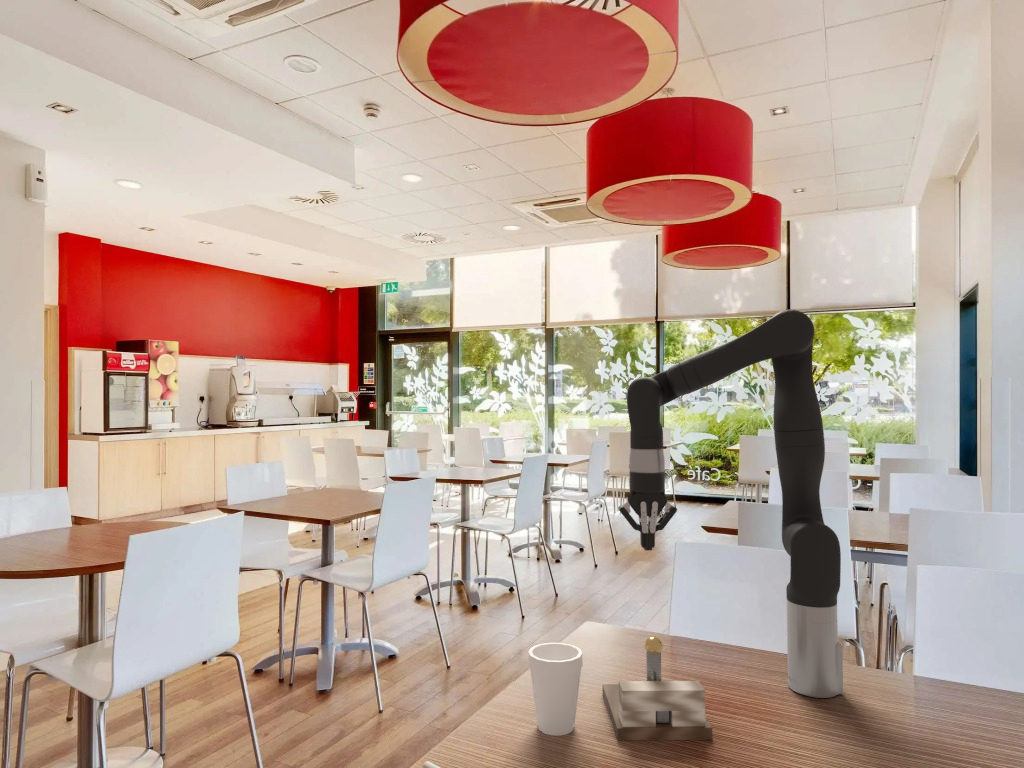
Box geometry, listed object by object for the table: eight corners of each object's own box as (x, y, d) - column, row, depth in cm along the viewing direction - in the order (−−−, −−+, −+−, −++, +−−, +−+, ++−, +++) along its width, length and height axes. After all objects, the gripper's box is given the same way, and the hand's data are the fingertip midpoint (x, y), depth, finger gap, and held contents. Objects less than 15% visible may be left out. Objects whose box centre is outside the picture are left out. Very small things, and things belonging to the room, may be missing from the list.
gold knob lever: (660, 699, 124) (659, 633, 125) (672, 722, 115) (671, 650, 116) (643, 700, 124) (642, 633, 125) (653, 723, 115) (653, 651, 116)
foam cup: (582, 716, 123) (582, 643, 124) (583, 741, 114) (582, 662, 114) (530, 713, 124) (530, 642, 125) (526, 738, 115) (526, 661, 115)
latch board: (684, 694, 132) (684, 652, 133) (712, 739, 114) (711, 691, 115) (602, 694, 132) (602, 653, 132) (617, 740, 114) (616, 692, 114)
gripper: (619, 471, 144) (620, 553, 143) (681, 471, 144) (682, 553, 143) (613, 468, 151) (614, 546, 151) (673, 467, 151) (674, 546, 151)
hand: (647, 549), depth 147 cm, fingers closed
